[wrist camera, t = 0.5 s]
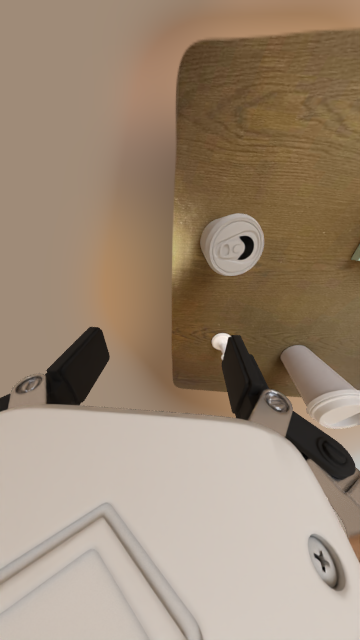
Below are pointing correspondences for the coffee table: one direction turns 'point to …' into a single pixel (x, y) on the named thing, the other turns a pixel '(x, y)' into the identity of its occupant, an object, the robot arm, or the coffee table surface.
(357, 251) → the scale
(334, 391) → the coffee cup
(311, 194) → the coffee table surface
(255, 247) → the beverage can
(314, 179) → the coffee table surface
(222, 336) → the chess piece
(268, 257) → the coffee table surface
